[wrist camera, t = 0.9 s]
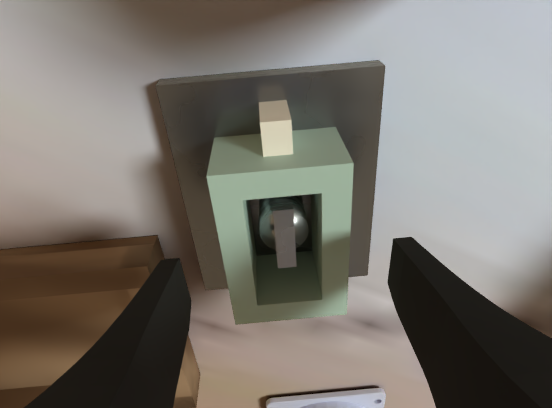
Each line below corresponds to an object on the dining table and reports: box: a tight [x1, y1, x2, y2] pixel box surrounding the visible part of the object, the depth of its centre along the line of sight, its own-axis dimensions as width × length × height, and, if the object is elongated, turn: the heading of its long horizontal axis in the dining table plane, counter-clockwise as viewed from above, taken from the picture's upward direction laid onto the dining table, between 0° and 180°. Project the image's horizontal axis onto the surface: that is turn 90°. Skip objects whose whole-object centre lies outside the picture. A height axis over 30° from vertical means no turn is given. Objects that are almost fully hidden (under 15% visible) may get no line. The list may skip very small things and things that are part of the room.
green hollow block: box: [206, 100, 354, 324], centre depth 15 cm, size 8×5×3 cm, turn 4°
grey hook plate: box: [156, 60, 385, 290], centre depth 15 cm, size 10×8×4 cm
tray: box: [0, 235, 200, 408], centre depth 20 cm, size 11×14×2 cm
